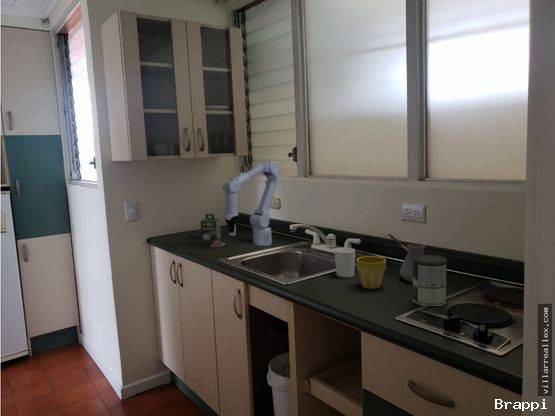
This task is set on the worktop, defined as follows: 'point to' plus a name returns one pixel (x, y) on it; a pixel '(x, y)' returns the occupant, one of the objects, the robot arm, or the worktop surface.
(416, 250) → the coffee pot
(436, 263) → the coffee can
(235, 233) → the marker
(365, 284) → the plant pot
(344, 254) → the white cup
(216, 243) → the button
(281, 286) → the worktop surface
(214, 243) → the button housing
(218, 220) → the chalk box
